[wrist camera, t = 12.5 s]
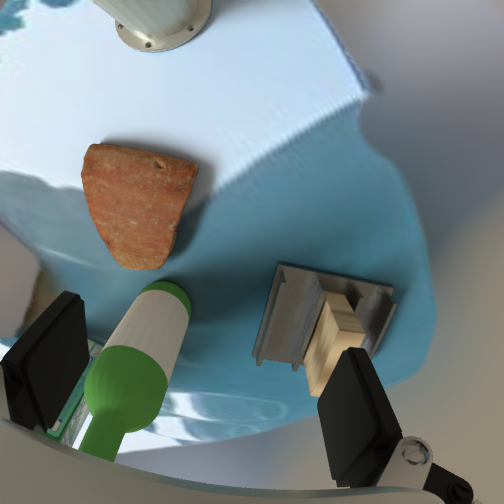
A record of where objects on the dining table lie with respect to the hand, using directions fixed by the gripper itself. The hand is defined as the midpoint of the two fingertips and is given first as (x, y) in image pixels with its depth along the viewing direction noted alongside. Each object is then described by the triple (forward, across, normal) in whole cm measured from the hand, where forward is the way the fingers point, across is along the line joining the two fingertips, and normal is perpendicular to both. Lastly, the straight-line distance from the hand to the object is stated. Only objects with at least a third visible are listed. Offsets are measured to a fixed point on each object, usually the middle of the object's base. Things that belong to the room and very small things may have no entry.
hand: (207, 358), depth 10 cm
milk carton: (+29, +21, +32) cm, 48 cm away
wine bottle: (+29, +7, +17) cm, 34 cm away
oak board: (+27, -15, +15) cm, 34 cm away
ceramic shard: (+30, +13, +4) cm, 33 cm away
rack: (+28, -15, +15) cm, 35 cm away
